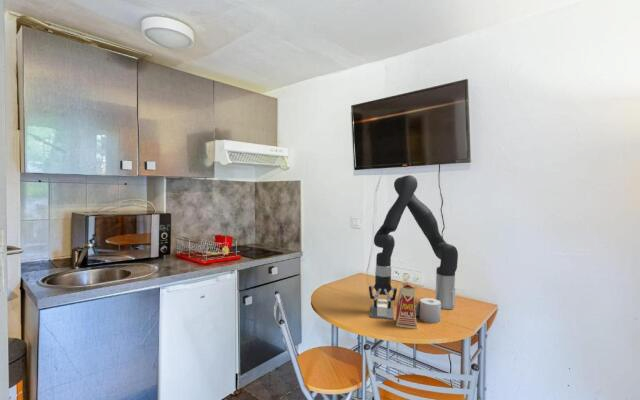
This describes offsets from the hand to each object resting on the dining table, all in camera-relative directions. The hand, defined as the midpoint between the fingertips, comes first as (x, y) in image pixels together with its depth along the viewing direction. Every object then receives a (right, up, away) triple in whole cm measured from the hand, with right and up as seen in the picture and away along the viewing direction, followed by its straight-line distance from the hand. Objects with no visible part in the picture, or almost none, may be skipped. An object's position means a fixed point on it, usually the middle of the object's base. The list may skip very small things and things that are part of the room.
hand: (382, 307), depth 160 cm
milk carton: (+9, -3, -12) cm, 15 cm away
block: (-1, 0, -7) cm, 7 cm away
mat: (0, -3, 0) cm, 3 cm away
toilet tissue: (+20, -3, -6) cm, 21 cm away
